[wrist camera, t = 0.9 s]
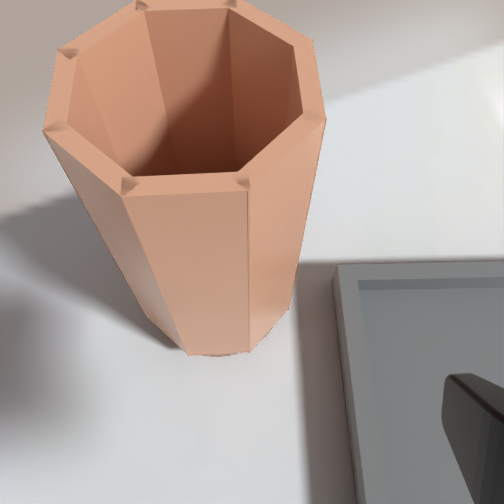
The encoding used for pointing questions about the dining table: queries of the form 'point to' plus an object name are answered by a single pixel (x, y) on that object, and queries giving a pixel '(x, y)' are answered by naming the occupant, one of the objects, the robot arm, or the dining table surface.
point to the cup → (194, 160)
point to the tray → (412, 369)
